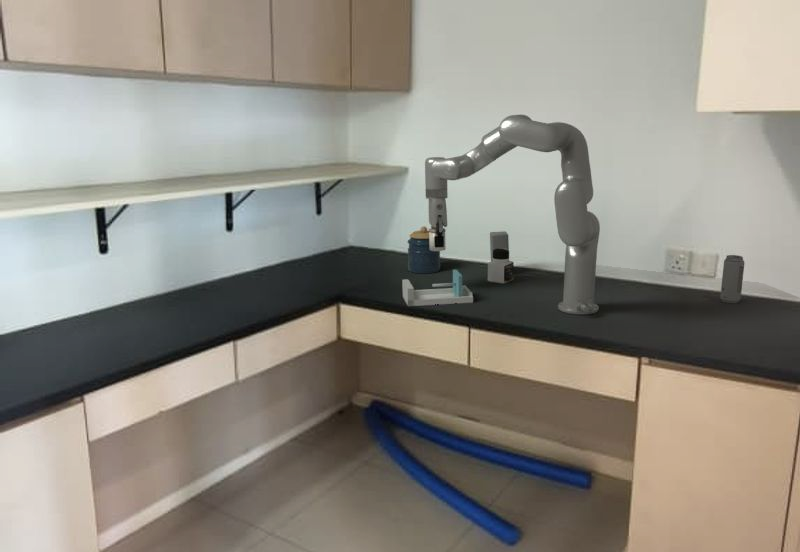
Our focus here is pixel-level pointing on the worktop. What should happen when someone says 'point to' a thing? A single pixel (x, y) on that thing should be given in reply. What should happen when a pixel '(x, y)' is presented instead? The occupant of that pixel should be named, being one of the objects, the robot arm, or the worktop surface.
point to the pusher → (454, 284)
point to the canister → (422, 253)
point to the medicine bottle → (500, 267)
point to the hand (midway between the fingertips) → (437, 244)
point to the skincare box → (498, 241)
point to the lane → (433, 295)
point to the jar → (431, 240)
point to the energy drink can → (732, 279)
